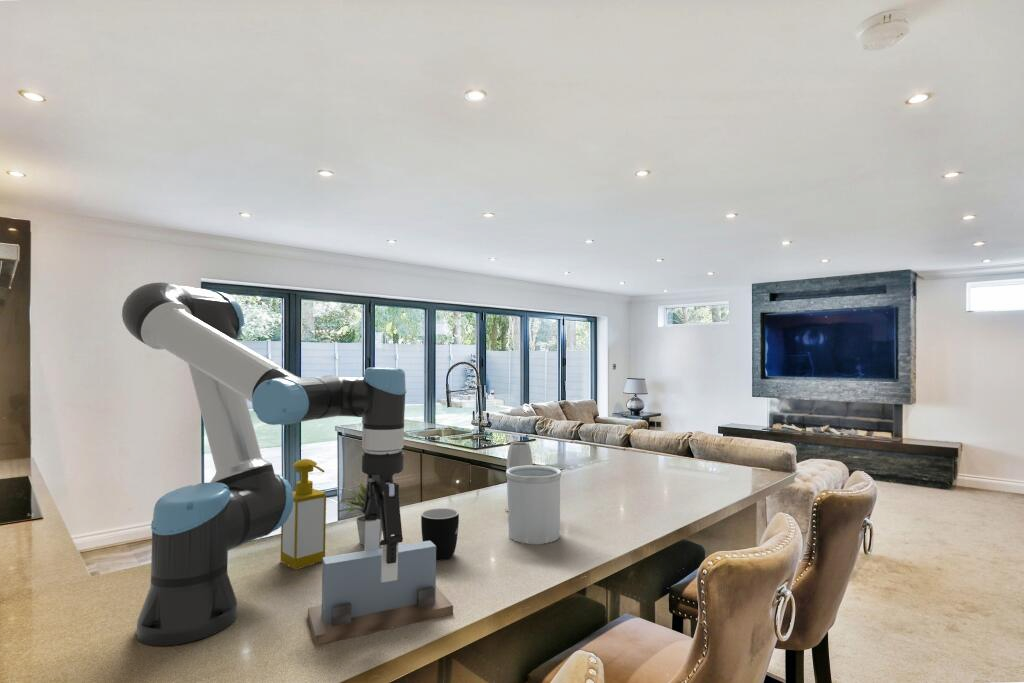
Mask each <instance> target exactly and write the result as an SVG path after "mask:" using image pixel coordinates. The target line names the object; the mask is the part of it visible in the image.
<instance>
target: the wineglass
mask: <svg viewBox="0 0 1024 683" xmlns="http://www.w3.org/2000/svg"><path fill="white" fill-rule="evenodd" d="M526 465H533V458H532V450H531V447H530V443H528V442H523V441H522V442H521V441H519V442H518V441H514V442H511V443H509V447H508V451H507V456H506V470H507V469H509V468H512V467H517V466H526ZM506 510H507V511H508V506H506V507H505V511H506ZM507 511H506V512H507Z"/></svg>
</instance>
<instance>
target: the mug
mask: <svg viewBox="0 0 1024 683" xmlns="http://www.w3.org/2000/svg"><path fill="white" fill-rule="evenodd" d="M420 517H421V518H420V524H421V538H422V542H424V541H431V542H432V543H433V544H434V545H435V546H436V562H437V561H439V560H440V561H446V560H448V559H451V558H452V557H453V556H454V555H455V552H456V548H457V542H458V536H459V524H460V523H459V522H460V520H459V518H460V514H459V511H457V509H453V508H444V507H441V508H439V507H438V508H430V509H427V510H424V511H423V512H422V513H421V516H420Z"/></svg>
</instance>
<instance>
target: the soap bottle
mask: <svg viewBox="0 0 1024 683" xmlns="http://www.w3.org/2000/svg"><path fill="white" fill-rule="evenodd" d="M317 464H318V462H316V461H314V460H312V459H310V458H302V459H299V460H297V461H296V462H294V463H293V464H292V465H291V466H292V467H293V468H295V472H296V473H298V474H299V473H300V481H299V480H298V481H297V482H296V483H295V490H294V491H293V490H292V491H293V508H292V511H291V513H290V515H289V517H288V519H287V521H286V522H285V523H284V524H283V525H282V526H281V527H280V533H281V534H280V562H281V561H282V562H284V563H285V564H284V563H283V564H284V565H286V564H287V565H286V566H288V565H289V566H290V568H291V567H292V568H291V569H293V568H294V569H295V570H297V568H299V569H301V568H300V567H302V568H304V567H303V566H306V567H308V566H307V565H309V566H311V565H310V564H313V563H316V562H320V561H323V557H326V530H327V529H326V528H327V526H326V524H327V520H326V519H327V516H326V515H327V514H326V513H327V493H326V492H324V491H321V490H318V489H316V488H313V484H314V483H313V480H309V473H312V472H313V471H314V468H316V469H317V470H318V471H320V472H321V473H325V470H324V469H323V468H322V467H320V466H318V465H317ZM282 562H281V563H282ZM320 563H321V562H320ZM316 564H317V563H316ZM313 565H314V564H313ZM289 566H288V567H289ZM294 569H293V570H294Z"/></svg>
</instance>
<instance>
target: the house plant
mask: <svg viewBox="0 0 1024 683" xmlns="http://www.w3.org/2000/svg"><path fill="white" fill-rule="evenodd" d="M353 482H354V483H356V484H357V485H358V487H359V489H360V491H361V492H358V491H355V490H354V489H351V488H348V490H350V491H347V488H345V487H344V488H343V487H341V489H345V490H346V491H345V492H350V493H353V494H354V495H355V496H356V497H354V498H355V500H349V499H346V500H344V499H343V500H342V502H343V503H349V508H348V509H347V514H349V513H351V512H353V511H359V512H362V513H363V506H364V499H365V493H366V487H365V485H364V484H362V483H361V482H360V483H359V482H357V481H354V480H353ZM352 491H353V492H352ZM355 493H356V494H355ZM360 499H361V500H360ZM352 505H354V506H358V507H354V506H352ZM359 507H360V508H359ZM364 516H365V514H361V515H360V516H357V517H356V525H357V533H358V534H357V535H358V539H359V540H358V541H359V544H360V545H361V544H362V545H361V546H364V544H365V521H367V519H366V520H365V517H364ZM376 519H379V520H380V536H379V544H380V541H381V540H382V536H383V532H382V524H381V518H376Z"/></svg>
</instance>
